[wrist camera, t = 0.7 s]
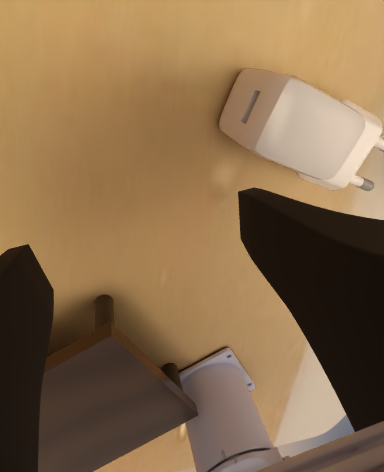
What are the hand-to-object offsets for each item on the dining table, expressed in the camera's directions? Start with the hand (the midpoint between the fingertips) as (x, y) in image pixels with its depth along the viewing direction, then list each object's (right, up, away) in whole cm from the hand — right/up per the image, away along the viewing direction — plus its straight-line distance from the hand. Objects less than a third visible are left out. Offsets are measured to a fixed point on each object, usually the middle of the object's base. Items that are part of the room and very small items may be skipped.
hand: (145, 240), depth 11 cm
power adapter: (+8, +8, +10) cm, 15 cm away
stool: (-8, -12, +17) cm, 22 cm away
